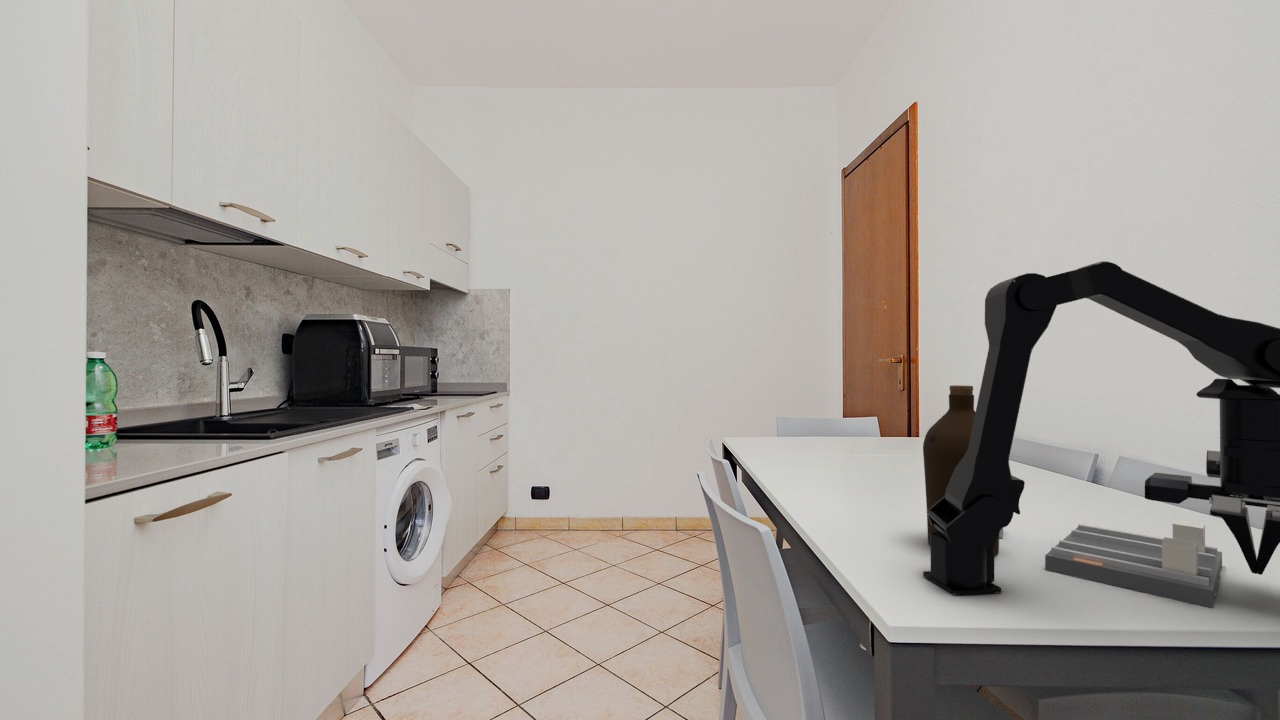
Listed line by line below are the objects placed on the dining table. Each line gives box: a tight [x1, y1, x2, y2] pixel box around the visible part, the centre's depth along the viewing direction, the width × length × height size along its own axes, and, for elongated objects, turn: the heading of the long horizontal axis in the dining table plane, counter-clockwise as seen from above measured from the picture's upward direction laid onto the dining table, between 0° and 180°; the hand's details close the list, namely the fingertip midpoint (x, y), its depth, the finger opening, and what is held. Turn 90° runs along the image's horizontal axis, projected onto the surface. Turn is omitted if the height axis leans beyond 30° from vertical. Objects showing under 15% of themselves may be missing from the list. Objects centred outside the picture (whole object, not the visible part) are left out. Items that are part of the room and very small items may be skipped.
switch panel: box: [1044, 523, 1223, 609], centre depth 76 cm, size 20×16×3 cm
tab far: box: [1172, 519, 1206, 553], centre depth 77 cm, size 3×3×4 cm
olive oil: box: [922, 384, 1000, 557], centre depth 85 cm, size 11×11×25 cm
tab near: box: [1162, 537, 1198, 575], centre depth 69 cm, size 3×3×4 cm
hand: (1256, 573), depth 64 cm, fingers closed
